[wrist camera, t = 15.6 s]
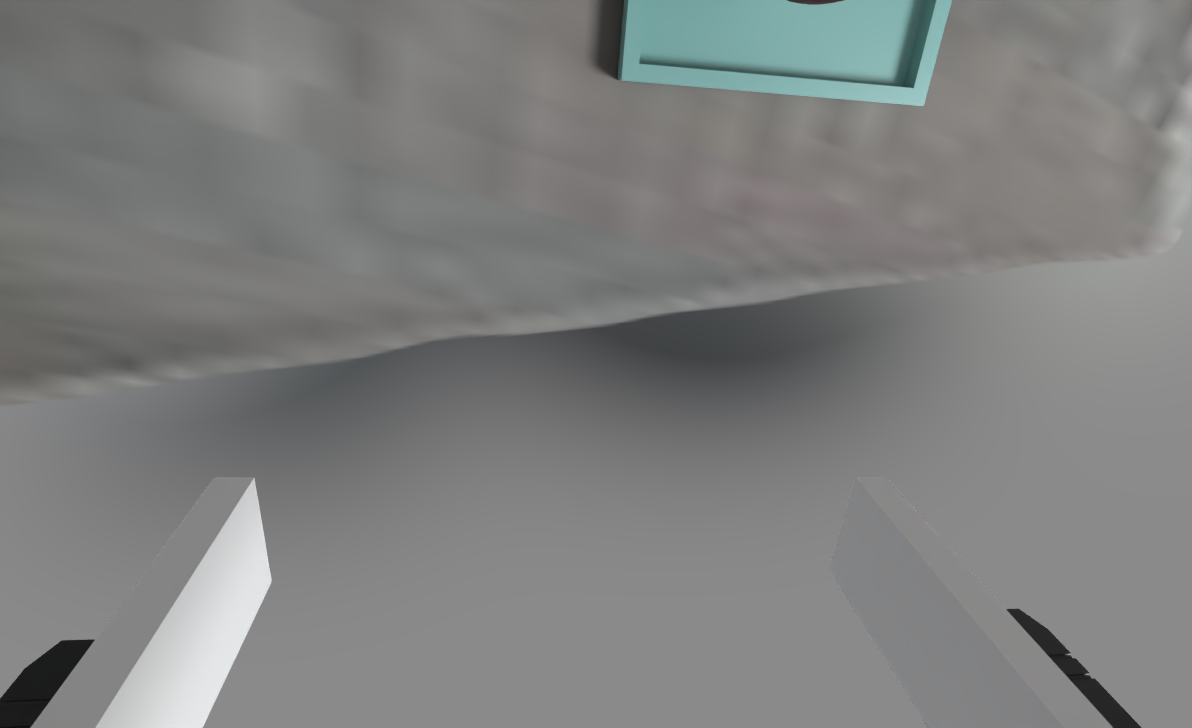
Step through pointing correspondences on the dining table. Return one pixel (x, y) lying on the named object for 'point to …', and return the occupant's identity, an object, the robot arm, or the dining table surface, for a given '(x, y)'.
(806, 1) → the coffee cup
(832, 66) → the tray
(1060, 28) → the dining table surface
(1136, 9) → the dining table surface
